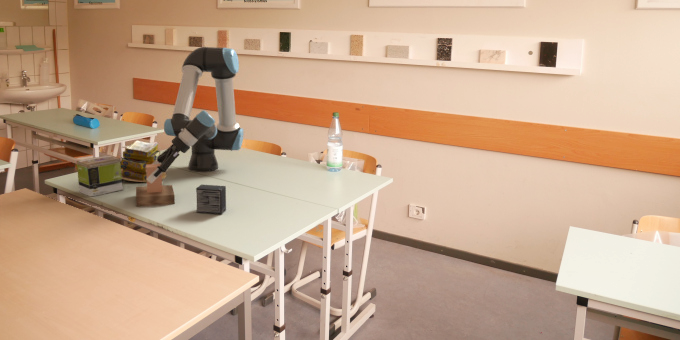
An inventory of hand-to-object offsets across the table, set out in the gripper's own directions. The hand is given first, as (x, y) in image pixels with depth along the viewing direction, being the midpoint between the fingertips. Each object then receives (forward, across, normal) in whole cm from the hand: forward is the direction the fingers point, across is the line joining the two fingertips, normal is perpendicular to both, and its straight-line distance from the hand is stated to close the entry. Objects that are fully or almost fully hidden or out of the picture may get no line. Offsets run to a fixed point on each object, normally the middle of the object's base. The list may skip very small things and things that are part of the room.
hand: (148, 177), depth 227 cm
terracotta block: (+3, 0, +6) cm, 7 cm away
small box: (-9, +20, +24) cm, 33 cm away
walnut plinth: (+5, 0, +9) cm, 10 cm away
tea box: (+21, -18, -6) cm, 28 cm away
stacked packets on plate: (+10, -39, +5) cm, 41 cm away
